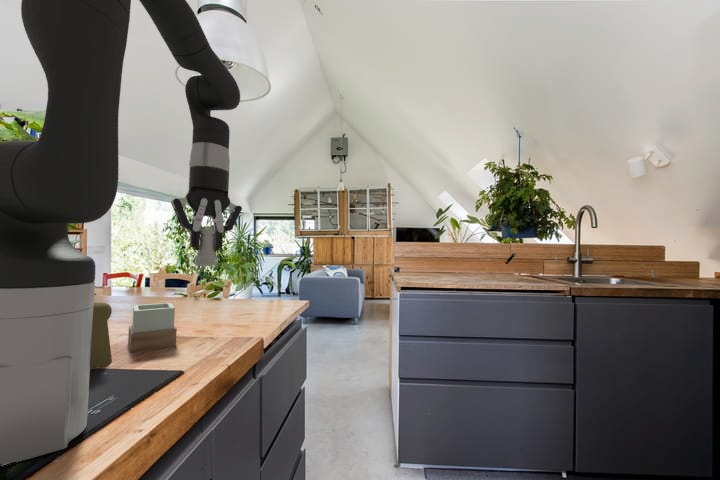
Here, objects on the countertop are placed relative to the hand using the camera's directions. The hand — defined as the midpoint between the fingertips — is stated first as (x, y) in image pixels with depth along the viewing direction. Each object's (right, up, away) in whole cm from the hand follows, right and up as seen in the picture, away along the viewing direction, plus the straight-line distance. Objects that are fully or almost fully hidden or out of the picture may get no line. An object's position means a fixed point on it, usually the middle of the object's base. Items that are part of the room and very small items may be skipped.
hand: (206, 249), depth 65 cm
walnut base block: (-14, -21, +3) cm, 25 cm away
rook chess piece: (0, -3, 0) cm, 3 cm away
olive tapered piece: (-17, -21, -9) cm, 28 cm away
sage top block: (-14, -17, +4) cm, 22 cm away
